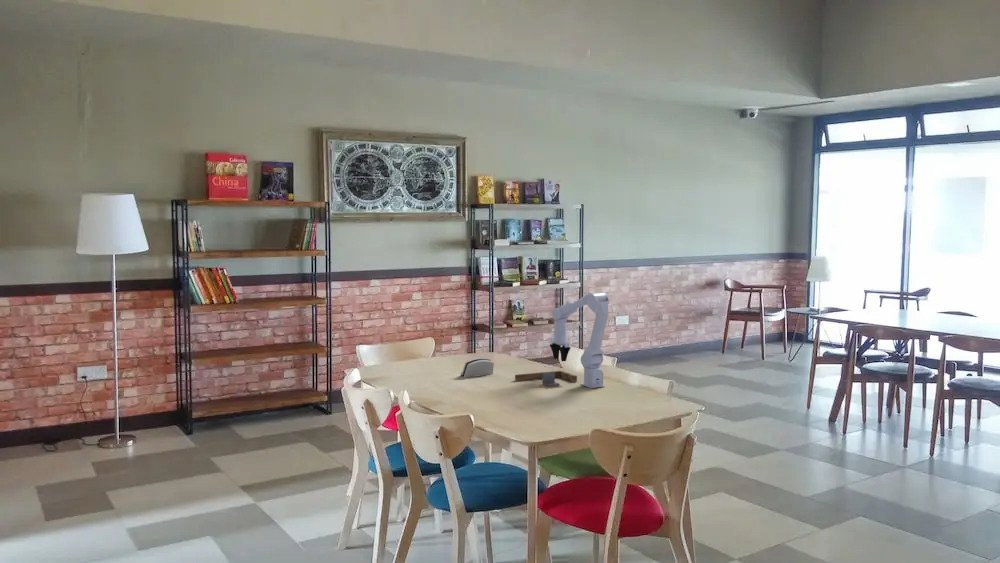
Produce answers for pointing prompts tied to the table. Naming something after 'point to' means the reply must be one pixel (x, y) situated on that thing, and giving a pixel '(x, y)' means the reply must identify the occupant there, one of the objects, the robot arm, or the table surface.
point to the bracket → (549, 379)
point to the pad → (550, 387)
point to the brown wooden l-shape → (539, 376)
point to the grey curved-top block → (477, 367)
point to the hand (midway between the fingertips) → (559, 359)
